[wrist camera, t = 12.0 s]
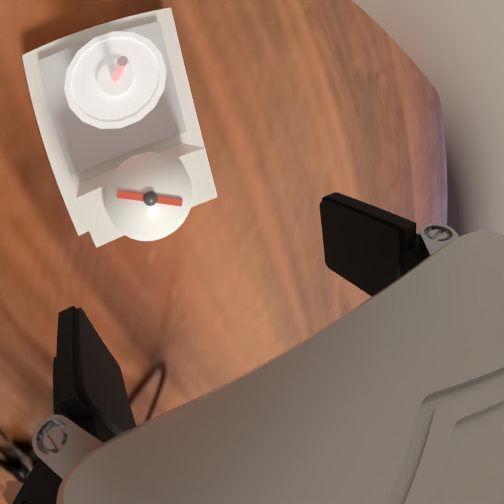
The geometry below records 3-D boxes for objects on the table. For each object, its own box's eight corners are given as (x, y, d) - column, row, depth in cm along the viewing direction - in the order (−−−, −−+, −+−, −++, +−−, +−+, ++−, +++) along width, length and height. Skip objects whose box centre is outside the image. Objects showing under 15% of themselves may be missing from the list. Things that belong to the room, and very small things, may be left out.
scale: (27, 60, 19) (1, 34, 11) (164, 15, 23) (195, -23, 15) (82, 233, 28) (79, 276, 20) (206, 182, 32) (248, 204, 25)
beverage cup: (95, 142, 23) (94, 158, 11) (62, 85, 19) (31, 46, 8) (156, 104, 24) (213, 86, 13) (125, 48, 20) (158, -19, 9)
